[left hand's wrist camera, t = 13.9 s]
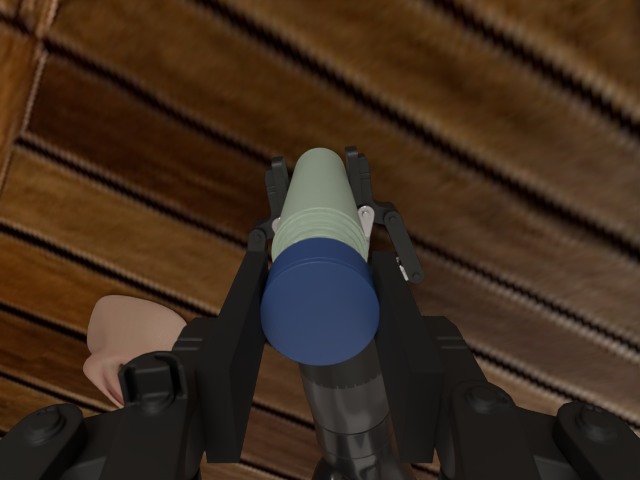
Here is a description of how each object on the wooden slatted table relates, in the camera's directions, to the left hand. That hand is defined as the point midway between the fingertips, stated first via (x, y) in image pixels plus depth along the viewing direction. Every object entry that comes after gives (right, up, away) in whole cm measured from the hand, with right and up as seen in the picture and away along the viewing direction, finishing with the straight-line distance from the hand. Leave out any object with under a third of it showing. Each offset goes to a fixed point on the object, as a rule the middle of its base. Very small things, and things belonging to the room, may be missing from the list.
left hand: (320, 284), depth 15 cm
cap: (0, -1, -2) cm, 2 cm away
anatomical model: (-18, -10, +26) cm, 33 cm away
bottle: (0, +7, +19) cm, 20 cm away
